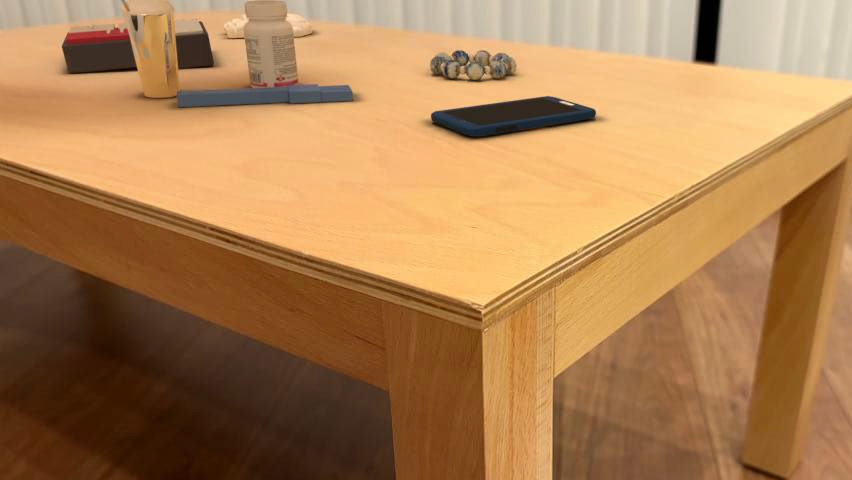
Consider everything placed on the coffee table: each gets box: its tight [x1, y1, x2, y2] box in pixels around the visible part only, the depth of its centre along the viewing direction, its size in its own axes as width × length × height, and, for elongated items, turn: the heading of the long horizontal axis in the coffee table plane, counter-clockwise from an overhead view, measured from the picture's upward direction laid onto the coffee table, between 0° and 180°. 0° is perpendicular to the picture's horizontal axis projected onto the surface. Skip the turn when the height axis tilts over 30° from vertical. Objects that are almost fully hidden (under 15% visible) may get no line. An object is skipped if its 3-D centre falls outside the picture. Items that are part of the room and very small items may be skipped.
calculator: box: [61, 18, 215, 74], centre depth 99 cm, size 11×4×15 cm
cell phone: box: [430, 95, 597, 137], centre depth 78 cm, size 7×14×1 cm, turn 127°
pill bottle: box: [243, 0, 299, 88], centre depth 87 cm, size 5×5×8 cm
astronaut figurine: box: [222, 12, 313, 39], centre depth 121 cm, size 9×12×3 cm
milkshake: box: [120, 0, 181, 99], centre depth 82 cm, size 4×5×10 cm
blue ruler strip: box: [175, 83, 354, 108], centre depth 83 cm, size 16×3×1 cm, turn 108°
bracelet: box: [429, 49, 517, 81], centre depth 98 cm, size 10×10×2 cm
